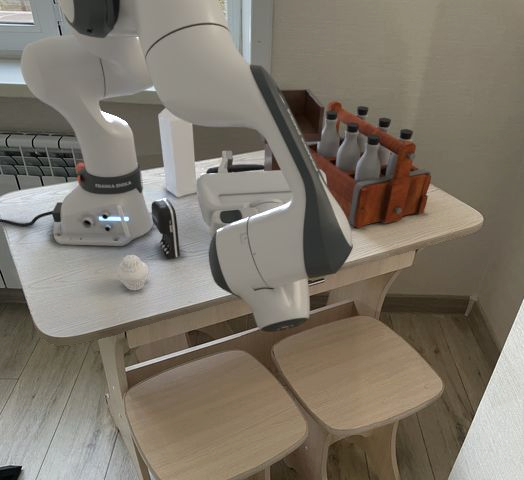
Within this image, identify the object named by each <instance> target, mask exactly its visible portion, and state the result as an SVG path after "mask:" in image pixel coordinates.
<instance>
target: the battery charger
mask: <svg viewBox="0 0 524 480" xmlns="http://www.w3.org/2000/svg"><path fill="white" fill-rule="evenodd" d="M150 207H151V208H150V209H151V218H152V220H153V225H154V226H155V227H156V229H157V231H158V232H159V234H160V235H161V239H160V242H159V244H158V246H159V249H160V250H161V252H162V253H163V255H164V257H165V258H166V259H174V258H178V257H181V252H180V251H181V250H180V241H179V239H180V238H179V229H178V220H177V219H178V218H177V212H176V209H175V207H174V205H173V204H172V203H171V201H170V200H169V199H168V198H162V199H155V200H153V201H152V203H151V206H150Z"/></svg>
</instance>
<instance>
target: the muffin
mask: <svg viewBox="0 0 524 480" xmlns="http://www.w3.org/2000/svg"><path fill="white" fill-rule="evenodd" d="M149 273H150V271H149V267H148V265H147V264H146V263H145V262H143V261H141V259H140V258H139V256H137V255H135V254H128V255H125V256H123V258H122V259H121V263H120V264H119V265H118V266H117V268H116V276H117V278H118V279H119V281H120V282H121V283H122V284H123V286H125V287H126V288H127V289H128V290H130V291H139V290H141V289H142V288H143V287H144V285H145V283H146V281H147V279H148V275H149Z"/></svg>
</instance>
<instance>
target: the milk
mask: <svg viewBox="0 0 524 480" xmlns="http://www.w3.org/2000/svg"><path fill="white" fill-rule="evenodd" d="M157 116H158V126H159V135H160V144H161V153H162V163H163V172H164V179H165V188H166V189H165V190H167V191H168V192H170V194H172V195H174V197H176V198H180V197H183V196H187V195H192V194H194V193H197V187H196V182H197V175H196V174H197V172H196V159H195V158H196V157H195V144H194V143H195V142H194V130H193V129H194V128H193V124H191V123H188V122H186V121H183V120H181V119H179V118H178V117H176V116H175V115H173V114H172V113H171V112H170V111H169V110H168V109H167V108H166V107H164V109H163V110H161V111H160V113H158V115H157Z"/></svg>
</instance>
